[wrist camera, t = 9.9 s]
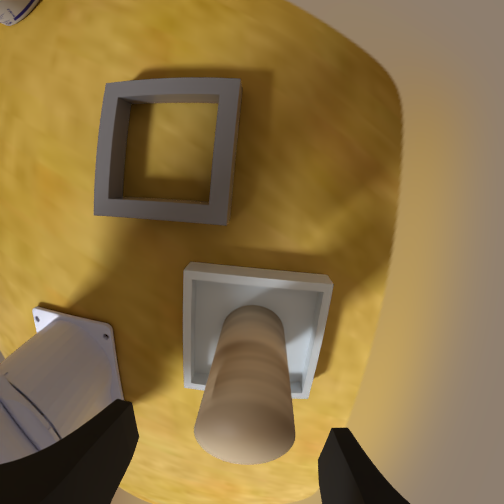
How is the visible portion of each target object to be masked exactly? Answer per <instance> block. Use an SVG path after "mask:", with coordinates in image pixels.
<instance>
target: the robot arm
mask: <svg viewBox="0 0 504 504" xmlns="http://www.w3.org/2000/svg"><path fill="white" fill-rule="evenodd" d="M33 316H34V321H35V326H36V331H37V334H35V335H34V336H33V337H32V338H30V339H29V340H28V341H27V342H25V343H24V344H23V345H22V346H21V347H19V348H18V349H17V350H16V351H14V352H13V353H12V354H11V355H10V356H8V357H7V358H6V359H5V360H4V361H3V362H1V363H0V504H110V503H111V501H112V498H113V496H114V494H115V492H116V490H117V488H118V486H119V484H120V482H121V480H122V478H123V476H124V474H125V472H126V470H127V468H128V466H129V464H130V462H131V459H132V457H133V454H134V451H135V448H136V445H137V442H138V439H139V434H138V430H137V425H136V420H135V415H134V410H133V405H132V403H131V402H128V401H124V397H123V392H122V387H121V381H120V376H119V370H118V364H117V357H116V350H115V343H114V335H113V329H112V327H111V325H109V324H108V323H104V322H99V321H95V320H90V319H86V318H81V317H77V316H73V315H69V314H65V313H61V312H57V311H53V310H49V309H45V308H41V307H38V306H36V307H35V308H33ZM38 317H39V318H38ZM105 334H107V335H108V336H109V338H108V337H107V336H106V335H105ZM318 474H319V487H320V493H321V499H322V504H410V503H409V502H408V501H407V500H406V499H404V498H403V497H402V496H401V495H400V494H399V493H398V492H397V491H396V490H395V489H394V488H393V487H392V485H391V484H390V483H389V482H388V481H387V480H386V479H385V478H384V477H383V475H382V474H381V473H380V472H379V470H378V469H377V468H376V466H375V465H374V464H373V463H372V461H371V460H370V459H369V457H368V456H367V455H366V453H365V452H364V450H363V449H362V448H361V446H360V445H359V443H358V442H357V440H356V439H355V437H354V436H353V434H352V433H351V431H350V430H349V429H348V428H331V431H330V433H329V436H328V438H327V441H326V443H325V445H324V448H323V450H322V452H321V454H320V457H319V459H318Z"/></svg>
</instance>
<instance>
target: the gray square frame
mask: <svg viewBox="0 0 504 504" xmlns="http://www.w3.org/2000/svg"><path fill="white" fill-rule="evenodd" d="M242 91H243V88H242V84H241V79H236V78H161V79H145V80H133V81H123V82H114V83H106V87H105V93H104V99H103V105H102V112H101V119H100V127H99V135H98V145H97V156H96V170H95V188H94V215H97V216H112V217H127V218H140V219H154V220H167V221H179V222H191V223H203V224H214V225H225V226H226V225H227V224H228V223H229V221H230V216H231V204H232V193H233V181H234V170H235V160H236V149H237V139H238V129H239V119H240V110H241V100H242ZM147 103H219V105H218V113H217V123H216V132H215V142H214V152H213V163H212V174H211V186H210V198H209V202H204V201H191V200H176V199H160V198H142V197H123V181H124V166H125V154H126V143H127V134H128V125H129V117H130V110H131V104H147Z"/></svg>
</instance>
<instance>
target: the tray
mask: <svg viewBox="0 0 504 504" xmlns="http://www.w3.org/2000/svg"><path fill="white" fill-rule="evenodd" d="M333 285H334V284H333V283H332V281H331V280H330V278H329V277H328V275H325V274H313V273H302V272H292V271H281V270H270V269H260V268H249V267H239V266H229V265H219V264H210V263H200V262H190V263H189V264H188V265H187V267H186V268H185V269H184V277H183V367H184V388H191V389H197V390H204V391H205V387H206V383H207V380H208V376H209V373H210V369H211V365H212V362H213V358H214V355H215V351H216V348H217V344H218V340H219V337H220V333H221V330H222V326H223V323H224V321H225V319H226V317H227V316H228V315H229V314H230V313H231V312H232V311H234V310H235V309H237V308H239V307H242V306H247V305H258V306H262V307H265V308H268V309H270V310H271V311H273V312H274V313H275V314H276V315H277V316H278V317H279V318H280V320H281V322H282V324H283V327H284V334H285V342H286V351H287V360H288V369H289V378H290V387H291V396H292V398H297V399H308V397H309V393H310V389H311V386H312V382H313V378H314V374H315V370H316V366H317V361H318V357H319V353H320V349H321V344H322V340H323V335H324V331H325V326H326V321H327V316H328V311H329V306H330V301H331V296H332V291H333Z"/></svg>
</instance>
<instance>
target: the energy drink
mask: <svg viewBox="0 0 504 504" xmlns="http://www.w3.org/2000/svg"><path fill="white" fill-rule="evenodd" d="M38 2H39V0H0V23H3V24H5V25H7V26H10V25H14V24H16V23H18V22H20V21H21V20H23V19H24V18H25V17H26V16H27V15H28V14H29V13H30V12H31V11H32V10H33V9H34V7H35V6H36V5H37V3H38Z"/></svg>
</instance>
